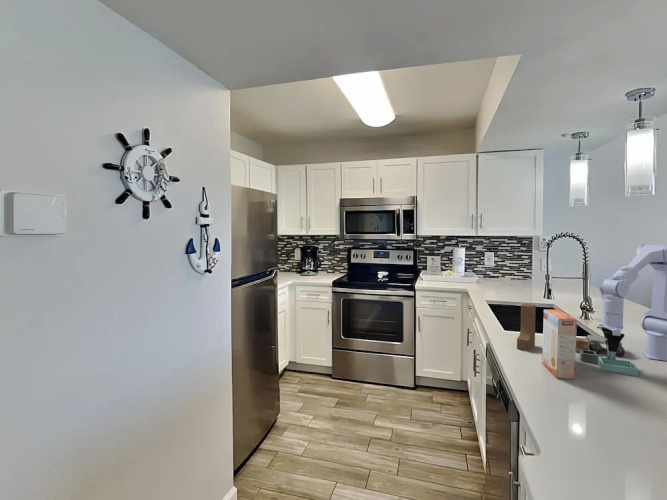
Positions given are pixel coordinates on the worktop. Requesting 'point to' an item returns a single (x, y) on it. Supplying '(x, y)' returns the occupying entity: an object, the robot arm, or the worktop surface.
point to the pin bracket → (588, 356)
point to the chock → (582, 344)
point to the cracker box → (559, 343)
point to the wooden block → (527, 327)
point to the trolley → (595, 346)
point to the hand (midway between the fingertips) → (611, 349)
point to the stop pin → (610, 353)
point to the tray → (617, 366)
